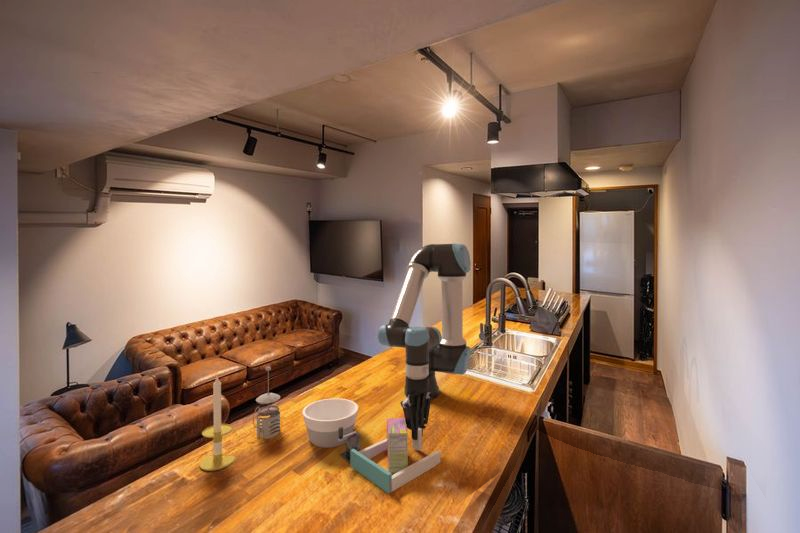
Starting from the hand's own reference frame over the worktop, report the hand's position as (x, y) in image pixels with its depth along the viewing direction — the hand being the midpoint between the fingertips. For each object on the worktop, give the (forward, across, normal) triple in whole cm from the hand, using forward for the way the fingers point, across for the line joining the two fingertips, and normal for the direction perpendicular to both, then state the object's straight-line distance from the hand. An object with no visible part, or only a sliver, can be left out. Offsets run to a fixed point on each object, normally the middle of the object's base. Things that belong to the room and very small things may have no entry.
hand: (417, 448), depth 116 cm
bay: (+2, -10, 0) cm, 10 cm away
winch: (+2, -17, +12) cm, 21 cm away
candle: (+2, -49, +39) cm, 62 cm away
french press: (+2, -32, +43) cm, 53 cm away
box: (+2, -9, 0) cm, 9 cm away
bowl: (+2, -16, +27) cm, 31 cm away
